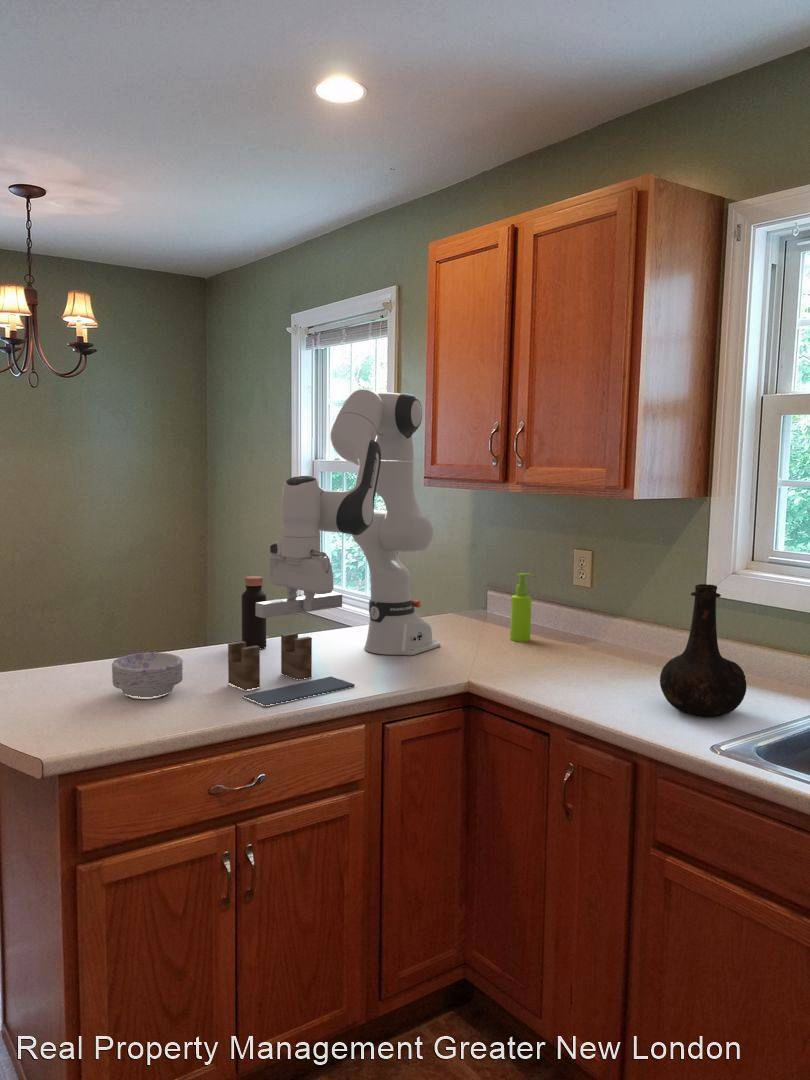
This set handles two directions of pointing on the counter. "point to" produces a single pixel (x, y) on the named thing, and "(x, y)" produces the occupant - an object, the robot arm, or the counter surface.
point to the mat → (299, 690)
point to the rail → (297, 605)
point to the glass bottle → (703, 666)
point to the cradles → (248, 661)
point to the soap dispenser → (521, 611)
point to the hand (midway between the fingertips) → (300, 608)
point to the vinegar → (253, 613)
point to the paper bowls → (147, 673)
